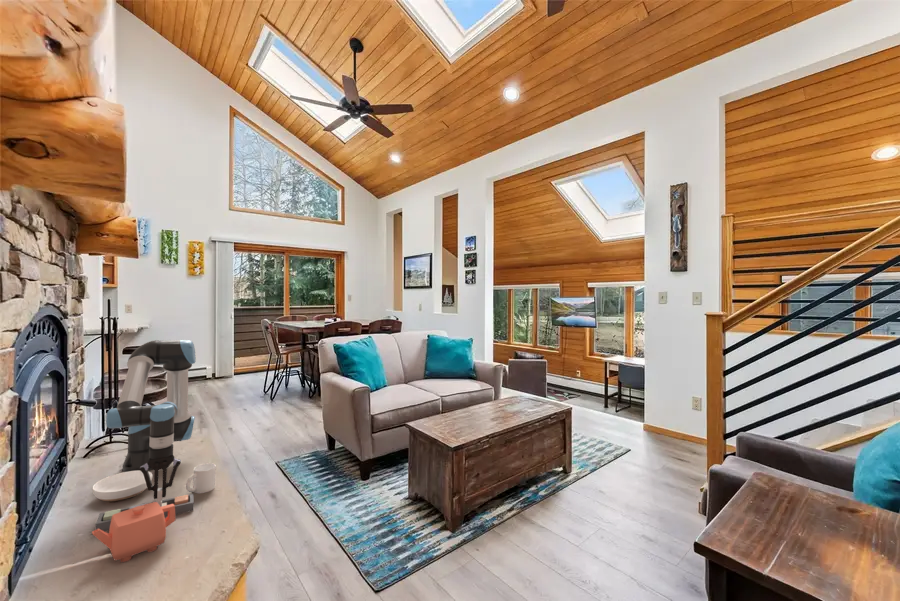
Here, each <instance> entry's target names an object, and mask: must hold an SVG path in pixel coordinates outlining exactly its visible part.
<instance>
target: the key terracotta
mask: <svg viewBox="0 0 900 601" xmlns="http://www.w3.org/2000/svg"><path fill="white" fill-rule="evenodd" d="M188 495H189V494H185V495H184V494H183V495H177V496H175V497H174V498H175V505H178V504H183V503H187V502H188Z"/></svg>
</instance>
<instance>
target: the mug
mask: <svg viewBox="0 0 900 601" xmlns="http://www.w3.org/2000/svg"><path fill="white" fill-rule="evenodd" d="M216 467H217V465H216V464H215V463H212V462H207V463H201V464H198V465H196V466H195V467H193V472H192V474H191V475H190V476H188V478H187V480H186V482H185V489H186V491H187V492H189V493H192V492H193V494H205V493H208V492H211V491H213V490H214V489H215V487H216V470H217V468H216ZM191 481H192V488H191V486H190V485H191Z"/></svg>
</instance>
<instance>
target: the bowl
mask: <svg viewBox="0 0 900 601" xmlns="http://www.w3.org/2000/svg"><path fill="white" fill-rule="evenodd" d="M148 472H149V476H150V479H151V482H152V480H153V478H154V475H153V473H152V471H150V470H148ZM146 489H148V488H147V485H146V481H145V478H144V475H143V473H142V472H141V471H128V472H123V471H122V472H120V473H114V474H113V475H112V474H111V475H109V476H107V477H106V476H105V477H104V478H102V479H100V480H98V481H97V482H95V483H94V484H93V486H92V493H93V495H94V496H95V497H94V498H96V499H98V500H101V501H103V502H108V503H109V502H117V501H124V500H127V499H130V498H134V497H136V496H138V495H139V494H141V493H143V492H144V491H146Z"/></svg>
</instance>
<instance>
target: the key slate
mask: <svg viewBox="0 0 900 601" xmlns="http://www.w3.org/2000/svg"><path fill="white" fill-rule="evenodd" d="M145 504H146V503H142V504H136V505H132V506H129V507H130V508H129V509H132V508H135V507H137V506H142V505H145Z"/></svg>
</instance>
